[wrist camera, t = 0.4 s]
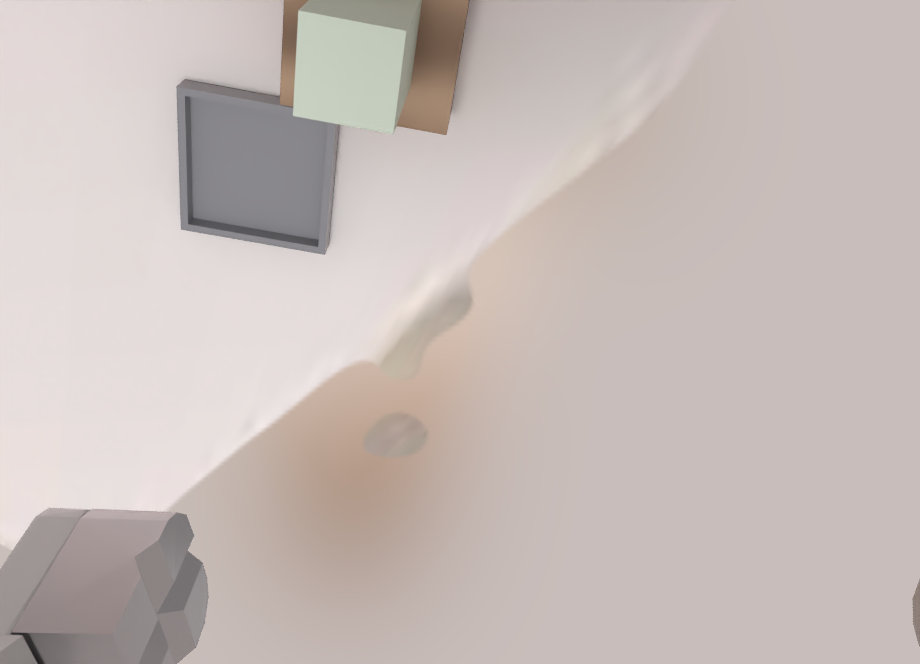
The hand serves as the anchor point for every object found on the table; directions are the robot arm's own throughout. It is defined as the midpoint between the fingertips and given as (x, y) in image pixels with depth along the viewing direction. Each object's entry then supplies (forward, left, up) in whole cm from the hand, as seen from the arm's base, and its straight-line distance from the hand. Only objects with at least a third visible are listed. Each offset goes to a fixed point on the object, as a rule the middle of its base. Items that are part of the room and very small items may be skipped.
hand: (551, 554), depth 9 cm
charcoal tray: (+16, -14, -44) cm, 49 cm away
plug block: (+5, -7, -40) cm, 41 cm away
